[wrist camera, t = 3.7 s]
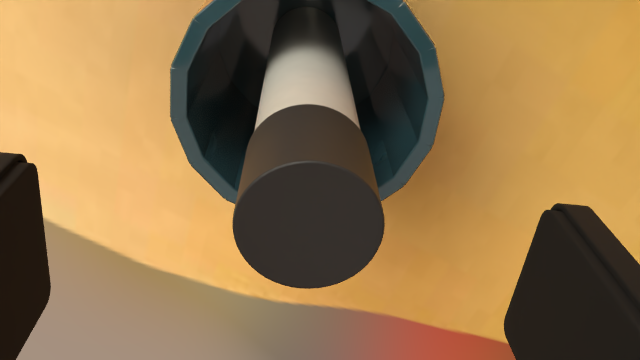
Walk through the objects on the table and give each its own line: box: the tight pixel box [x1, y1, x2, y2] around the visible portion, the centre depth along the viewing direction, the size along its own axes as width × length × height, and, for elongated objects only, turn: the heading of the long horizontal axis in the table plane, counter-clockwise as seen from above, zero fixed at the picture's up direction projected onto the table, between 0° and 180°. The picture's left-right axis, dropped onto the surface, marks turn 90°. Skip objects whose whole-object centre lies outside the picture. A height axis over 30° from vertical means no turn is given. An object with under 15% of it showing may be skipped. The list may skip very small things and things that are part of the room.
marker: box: [233, 7, 384, 289], centre depth 18 cm, size 3×3×14 cm
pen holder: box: [170, 0, 444, 204], centre depth 21 cm, size 8×8×8 cm
